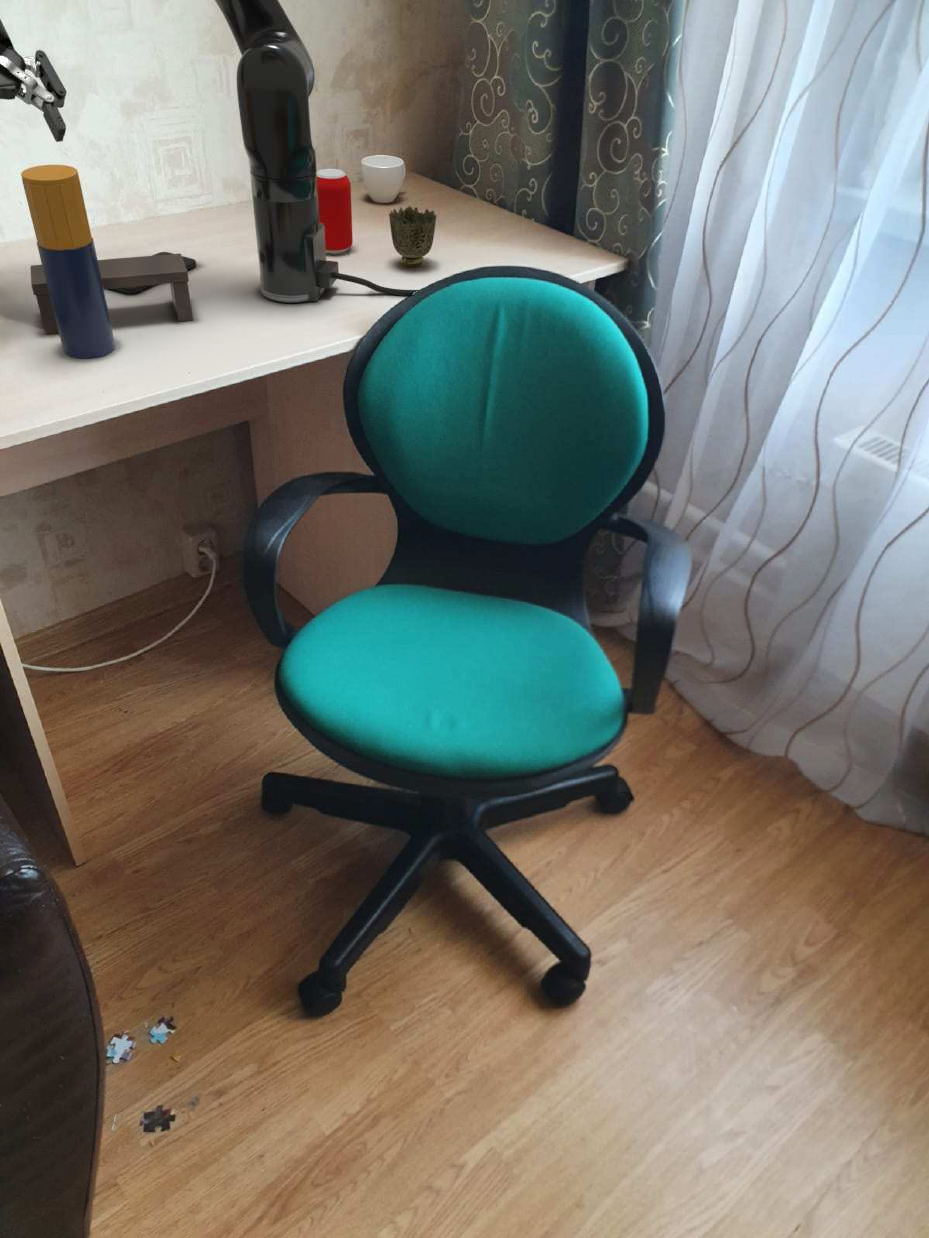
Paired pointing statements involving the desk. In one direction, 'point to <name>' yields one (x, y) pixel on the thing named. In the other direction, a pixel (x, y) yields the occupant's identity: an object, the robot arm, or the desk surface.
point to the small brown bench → (125, 282)
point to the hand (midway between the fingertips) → (26, 142)
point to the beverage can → (335, 209)
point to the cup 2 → (412, 234)
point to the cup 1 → (383, 177)
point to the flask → (78, 301)
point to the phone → (188, 263)
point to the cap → (57, 207)
